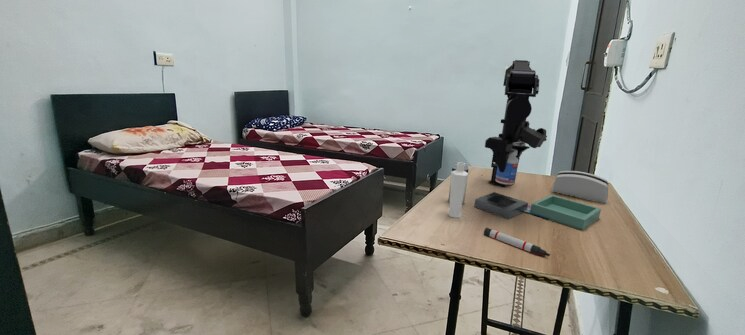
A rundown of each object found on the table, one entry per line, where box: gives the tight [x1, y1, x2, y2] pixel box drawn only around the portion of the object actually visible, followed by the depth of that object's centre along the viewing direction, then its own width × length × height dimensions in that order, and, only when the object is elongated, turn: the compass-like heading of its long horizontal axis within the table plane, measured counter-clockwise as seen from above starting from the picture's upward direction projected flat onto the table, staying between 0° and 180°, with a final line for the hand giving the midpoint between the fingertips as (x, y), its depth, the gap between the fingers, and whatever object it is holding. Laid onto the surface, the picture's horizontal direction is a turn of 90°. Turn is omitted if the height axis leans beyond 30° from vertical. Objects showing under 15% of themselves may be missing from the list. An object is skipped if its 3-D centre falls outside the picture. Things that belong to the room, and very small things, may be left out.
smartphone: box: [500, 204, 550, 221], centre depth 104 cm, size 8×1×15 cm
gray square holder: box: [474, 191, 529, 220], centre depth 103 cm, size 11×11×2 cm
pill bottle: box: [495, 149, 520, 186], centre depth 100 cm, size 6×5×10 cm
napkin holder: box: [551, 170, 609, 204], centre depth 117 cm, size 17×5×10 cm, turn 55°
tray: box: [530, 194, 602, 231], centre depth 100 cm, size 14×14×3 cm
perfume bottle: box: [447, 161, 469, 219], centre depth 94 cm, size 5×4×15 cm
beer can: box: [448, 162, 469, 204], centre depth 105 cm, size 5×5×12 cm
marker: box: [483, 227, 551, 257], centre depth 80 cm, size 15×2×2 cm, turn 45°
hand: (506, 170), depth 100 cm, fingers closed on pill bottle, 5 cm apart
